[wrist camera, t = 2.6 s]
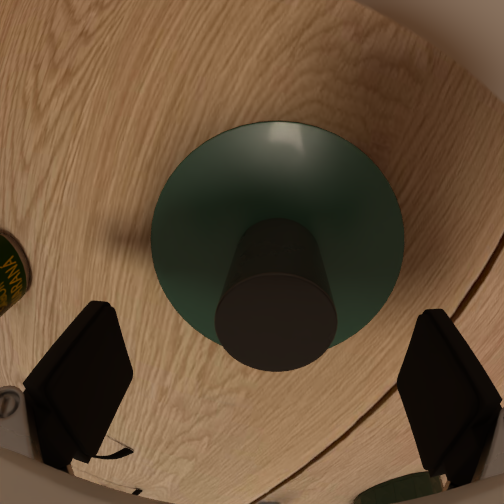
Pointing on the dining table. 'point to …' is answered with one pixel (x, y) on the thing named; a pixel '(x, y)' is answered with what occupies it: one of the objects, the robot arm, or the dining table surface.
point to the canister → (401, 489)
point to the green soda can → (12, 273)
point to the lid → (277, 242)
